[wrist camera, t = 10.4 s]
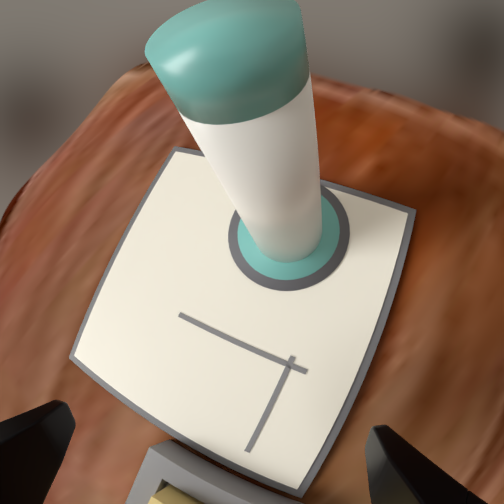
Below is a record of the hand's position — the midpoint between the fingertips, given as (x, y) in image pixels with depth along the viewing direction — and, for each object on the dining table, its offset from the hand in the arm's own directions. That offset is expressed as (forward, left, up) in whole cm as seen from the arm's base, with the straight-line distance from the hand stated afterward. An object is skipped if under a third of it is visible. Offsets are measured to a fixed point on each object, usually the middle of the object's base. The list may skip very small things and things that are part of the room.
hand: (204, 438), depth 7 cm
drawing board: (+5, -4, -9) cm, 11 cm away
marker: (+3, -9, -8) cm, 13 cm away
